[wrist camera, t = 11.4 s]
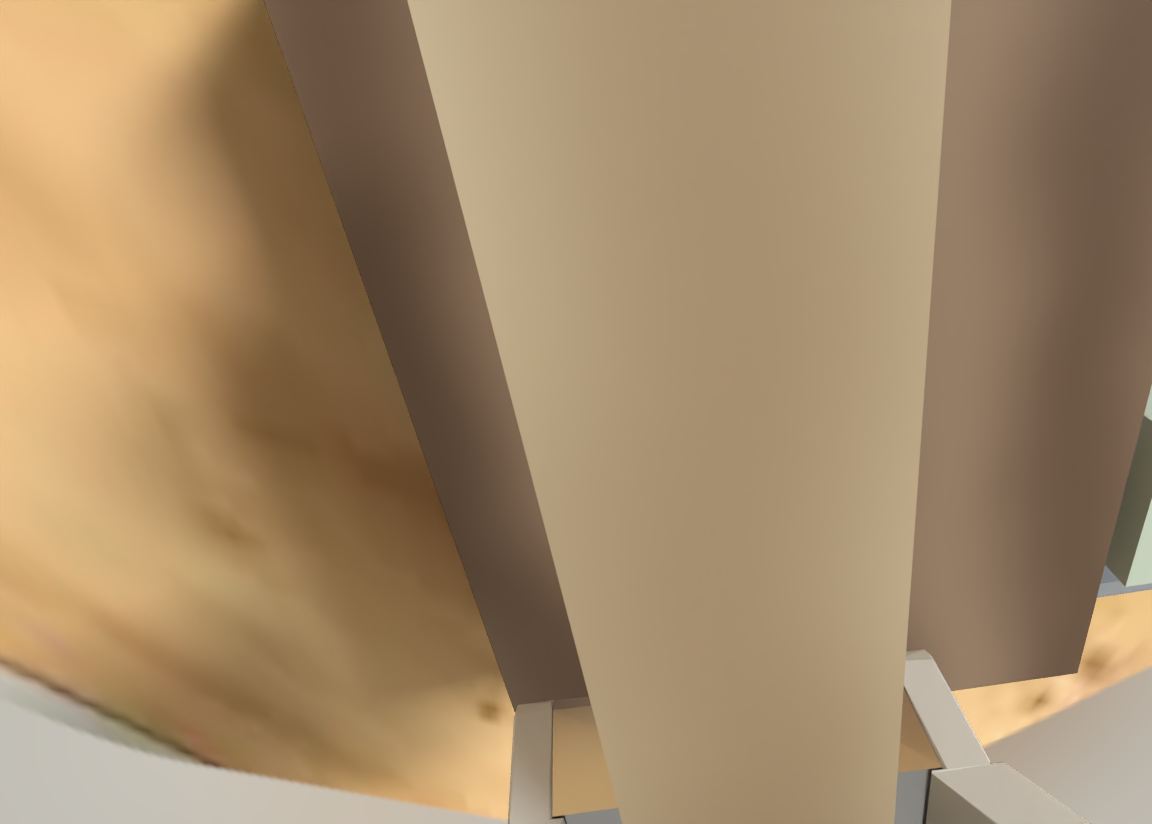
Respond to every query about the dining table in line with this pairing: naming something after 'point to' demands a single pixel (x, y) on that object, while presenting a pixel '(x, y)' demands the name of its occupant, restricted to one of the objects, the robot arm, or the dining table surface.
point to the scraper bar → (714, 366)
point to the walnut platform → (955, 338)
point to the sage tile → (1135, 515)
